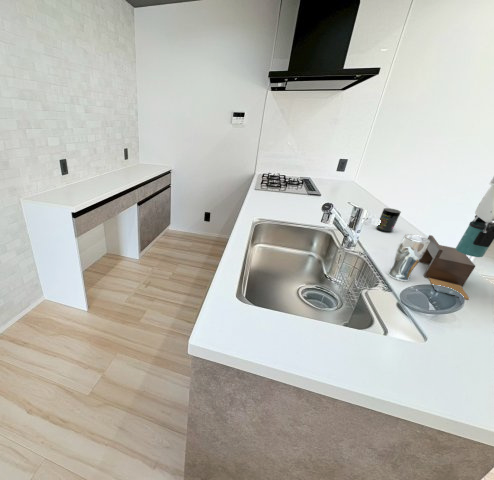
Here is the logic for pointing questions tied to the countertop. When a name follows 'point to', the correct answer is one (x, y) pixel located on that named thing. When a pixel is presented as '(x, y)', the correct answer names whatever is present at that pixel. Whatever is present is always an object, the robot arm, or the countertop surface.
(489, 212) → the robot arm
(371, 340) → the countertop surface
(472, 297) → the countertop surface
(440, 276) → the shelf
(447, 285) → the cork mat
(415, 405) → the countertop surface
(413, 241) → the beer glass
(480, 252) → the spice tin
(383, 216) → the supplement container
